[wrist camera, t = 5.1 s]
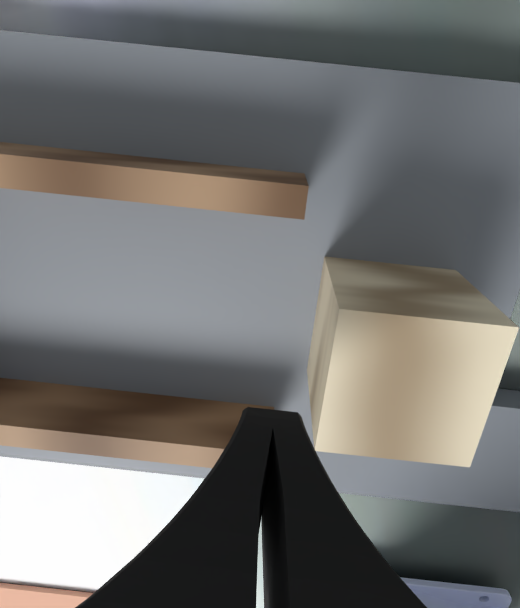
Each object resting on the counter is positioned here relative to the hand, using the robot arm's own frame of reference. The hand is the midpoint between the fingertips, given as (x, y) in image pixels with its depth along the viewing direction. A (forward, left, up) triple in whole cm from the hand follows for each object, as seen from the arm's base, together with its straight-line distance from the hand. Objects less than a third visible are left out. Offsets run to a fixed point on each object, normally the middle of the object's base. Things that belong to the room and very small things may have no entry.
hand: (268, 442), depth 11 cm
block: (-4, 0, -8) cm, 9 cm away
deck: (-4, 0, -9) cm, 10 cm away
